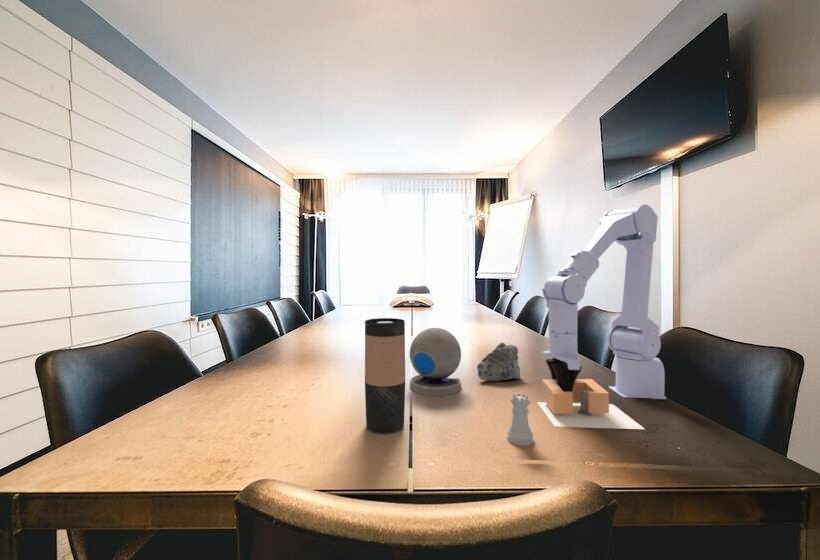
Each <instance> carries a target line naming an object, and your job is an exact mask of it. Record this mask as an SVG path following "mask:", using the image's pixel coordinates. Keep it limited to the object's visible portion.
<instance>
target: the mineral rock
mask: <svg viewBox="0 0 820 560" xmlns="http://www.w3.org/2000/svg"><path fill="white" fill-rule="evenodd" d="M518 354H519V350H518V347H517V346H516V345H514V344H506V343H505V342H500V343H499V344H497V345H496V347H495V348H494V350H492V351H491V352H489V353H488V354H486V355H485V357H483V358H482V360H481V361H480V362H479V363H478V364H476V365H477V366H476V368H477V372H478V373H477V376H478V378H479V379H480V380H483V381H489V382H491V381H493V382H502V381H507V380H513V379H514V380H516V379H520V378H521V374H520V369H521V368H520V366H519V361H518V360H519V355H518Z"/></svg>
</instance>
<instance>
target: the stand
mask: <svg viewBox="0 0 820 560" xmlns="http://www.w3.org/2000/svg"><path fill="white" fill-rule="evenodd" d="M536 404H537V405H538V406H539V407H540V409H541V410H542V411H543V413H544V414H545V415H546V417H547V418H548V419H549V421H550V422H551V424H552V425H553V427H555V428H583V429H585V428H587V429H589V428H590V429H591V428H592V429H614V430H615V429H616V430H617V429H618V430H620V429H622V430H625V429H626V430H645V428H644V427H643V426H642V425H640V423H638V422H637V421H635V420H634V419H633V418H632V417H630V416H629V415H628V414H626V413H625V412H623V411H622V410H621V409H620V408H619V407H617V406H616V405H614V403H609V413H589V412H588V391H587V390H581V401H580V402H578V403H577V402H576V403H575V402H573V413H553V411H552V410H551V409H550V407H549V406H548V404H547V403H546V402H544V401H541V402H540V401H537V402H536Z"/></svg>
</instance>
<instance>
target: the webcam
mask: <svg viewBox="0 0 820 560" xmlns="http://www.w3.org/2000/svg"><path fill="white" fill-rule="evenodd" d="M461 359H462V349H461V345H460V343H459V341H458V339H457V337H456V336H455V335H454V334H453V333H451V332H450V331H448V330H447V329H443V328H440V327H430V328H427V329H424V330H422V331H421V332H419V333H418V334H417V335H416V336H415V337H414V338H413V340H412V342H411V345H410V347H409V360H410V363H411V365H412V367H413V369H414V371H415V372H416V373H417V375H415V376H413V377H411V379H410V381H409V388H410V389H411V391H414V392H416V393H419V394H423V395H429V396H431V395H432V396H442V395H443V396H444V395H450V394H455V393H457V392H459V391H460V390H461V389H462V381H461V379H460V378H458V377H456V378H455V377H453V378H450V377H451V376H452V375H453V374H454V373H455V372H456V371H457V369H458V367H460V363H461Z"/></svg>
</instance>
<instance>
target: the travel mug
mask: <svg viewBox="0 0 820 560" xmlns="http://www.w3.org/2000/svg"><path fill="white" fill-rule="evenodd" d="M405 323H406V322H405V320H404V319H403V318H391V317H390V318H389V317H388V318H387V317H384V318H383V317H382V318H379V317H378V318H369V319H366V320H365V321H364V395H365V396H364V397H365V423H366V424H365V425H366V428H367V430H368V431H370V432H372V433H375V434H381V435H382V434H384V435H385V434H386V435H387V434H393V433H396V432H399V431H401V430H402V429H403V428H404V425H405V406H406V405H405V401H406V400H405V399H406V335H405V333H406V329H405V328H406V325H405Z"/></svg>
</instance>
